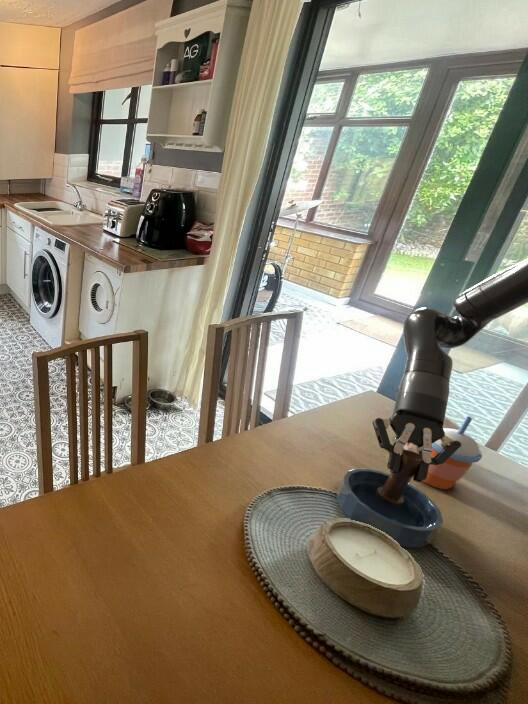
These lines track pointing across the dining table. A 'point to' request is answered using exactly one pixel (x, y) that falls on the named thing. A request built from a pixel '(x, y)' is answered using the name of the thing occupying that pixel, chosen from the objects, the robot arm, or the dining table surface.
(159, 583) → the dining table surface
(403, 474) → the brown wooden cylinder
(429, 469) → the cup with straw
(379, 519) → the bowl
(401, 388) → the robot arm
